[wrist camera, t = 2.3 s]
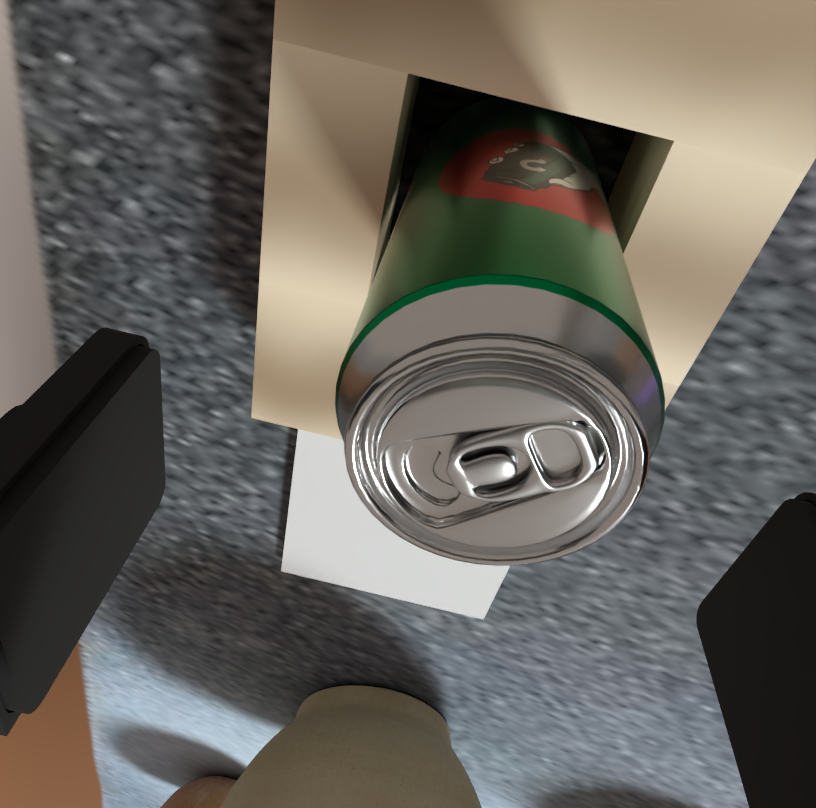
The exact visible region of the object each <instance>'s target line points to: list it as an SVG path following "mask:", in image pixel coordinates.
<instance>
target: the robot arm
mask: <svg viewBox="0 0 816 808" xmlns="http://www.w3.org/2000/svg"><path fill="white" fill-rule="evenodd" d="M164 489H165V460H164V437H163V415H162V392H161V369H160V355H159V353H158V351H157V350H155V349H150V348H149V343H148V341H147V339H146V338H145V337H143V336H139V335H135V334H131V333H126V332H122V331H118V330H114V329H109V328H101V329H99V330H98V331H97V332H95V333H94V334H93V335H92V336H91V337H90V338H89V339H88V340H87V341H86V342H85V343H84V344H83V345H82V346H81V347H80V348H79V349H78V350H77V351H76V352H75V353H74V354H73V355H72V356H71V357H70V358H69V359H68V360H67V361H66V362H65V363H64V364H63V365H62V366H61V367H60V368H59V369H58V370H57V371H56V372H55V373H54V374H53V375H52V376H51V377H50V378H49V379H48V380H47V381H46V382H45V383H44V384H43V385H42V386H41V387H40V388H39V389H38V390H37V391H36V392H35V393H34V394H33V395H32V396H31V397H30V398H29V399H28V400H27V401H26V402H25V403H24V404H23V405H19V406H15V407H14V408H12V409H11V410H10V411H8V412H7V413H6V414H5V415H4V416H3V417H2V418H1V419H0V735H4V736H7V735H8V733H9V732H10V730H11V729H12V727H13V725H14V723H15V722H16V720H17V719H18V717H19V715H20V714H21V713H25V714H30V713H32V712H33V711H35V710H36V709H37V708H38V706H39V705H40V703H41V702H42V701H43V699H44V698H45V696H46V694H47V693H48V691H49V689H50V688H51V686H52V684H53V683H54V681H55V679H56V677H57V676H58V674H59V672H60V671H61V669H62V667H63V666H64V664H65V662H66V661H67V659H68V657H69V656H70V654H71V652H72V650H73V649H74V647H75V645H76V644H77V642H78V640H79V639H80V637H81V635H82V634H83V632H84V630H85V629H86V627H87V625H88V624H89V622H90V620H91V619H92V617H93V615H94V614H95V612H96V610H97V608H98V607H99V605H100V603H101V602H102V600H103V598H104V597H105V595H106V593H107V592H108V590H109V588H110V587H111V585H112V583H113V582H114V580H115V578H116V576H117V575H118V573H119V571H120V570H121V568H122V566H123V565H124V563H125V561H126V560H127V558H128V556H129V555H130V553H131V551H132V550H133V548H134V546H135V544H136V543H137V541H138V539H139V538H140V536H141V534H142V533H143V531H144V529H145V528H146V526H147V524H148V523H149V521H150V519H151V518H152V516H153V514H154V513H155V511H156V509H157V507H158V506H159V504H160V502H161V499H162V496H163V493H164ZM697 628H698V631H699V635H700V638H701V642H702V645H703V649H704V652H705V656H706V659H707V662H708V666H709V669H710V673H711V676H712V680H713V683H714V687H715V690H716V694H717V697H718V700H719V704H720V707H721V711H722V714H723V718H724V721H725V725H726V728H727V732H728V735H729V739H730V742H731V745H732V749H733V752H734V756H735V759H736V763H737V766H738V770H739V773H740V777H741V780H742V783H743V787H744V790H745V794H746V797H747V801H748V804H749V808H816V494H815V493H808V492H804V493H802V494H800V495H798V496H797V497H796V498H795V499H788V500H786V501H785V502H784V503H783V504H782V505H781V506H780V507H779V508H778V509H777V511H776V512H775V513H774V514H773V516H772V517H771V518H770V519H769V520H768V522H767V523H766V524H765V525H764V527H763V528H762V529H761V530H760V531H759V533H758V534H757V535H756V536H755V538H754V539H753V540H752V541H751V542H750V544H749V545H748V546H747V547H746V549H745V550H744V551H743V552H742V553H741V555H740V556H739V557H738V558H737V560H736V561H735V562H734V563H733V564H732V566H731V567H730V568H729V569H728V571H727V572H726V573H725V574H724V575H723V577H722V578H721V579H720V580H719V582H718V583H717V584H716V585H715V586H714V588H713V589H712V590H711V591H710V593H709V594H708V595H707V596H706V597H705V599H704V600H703V601H702V602H701V604H700V606H699V608H698V611H697Z"/></svg>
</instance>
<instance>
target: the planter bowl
mask: <svg viewBox="0 0 816 808" xmlns="http://www.w3.org/2000/svg"><path fill="white" fill-rule="evenodd" d="M221 808H482V807H481V805H480V802H479V799H478V797H477V794H476V792H475V789H474V787H473V785H472V783H471V781H470V779H469V776H468V774H467V773H466V771H465V769H464V767H463V765H462V763H461V762H460V760H459V759H458V757H457V755H456V754H455V752H454V751H453V749H452V748H451V737H450V730H449V727H448V725H447V723H446V721H445V720H444V718H443V717H442V716H441V715H440V714H439V713H438V712H437V711H436V710H434V709H433V708H432V707H430V706H429V705H427V704H425V703H424V702H422V701H420V700H418V699H416V698H414V697H411V696H409V695H406V694H403V693H400V692H397V691H394V690H389V689H384V688H378V687H371V686H359V685H347V686H338V687H331V688H327V689H324V690H321V691H318V692H316V693H314V694H312V695H310V696H309V697H307V698H306V699H305V700H304V701H303V703H302V704H301V705H300V707H299V709H298V712H297V714H296V716H295V719H294V720H293V721H292V722H291V723H290V724H288V725H287V726H286V727H285V728H283V729H282V730H281V731H280V732H279V733H278V734H277V735H276V736H274V737H273V738H272V739H271V740H270V741H269V742H268V743H267V744H266V745H265V746H264V747H263V748H262V750H261V751H260V752H259V753H258V754H257V755H256V756H255V758H254V759H253V760H252V761H251V762H250V764H249V765H248V766H247V768H246V769H245V770H244V772H243V773H242V774H241V776H240V777H239V779H238V780H237V782H236V783H235V784H234V786H233V787H232V789H231V791H230V792H229V794H228V796H227V797H226V799H225V800H224V802H223V804H222V806H221Z"/></svg>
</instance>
